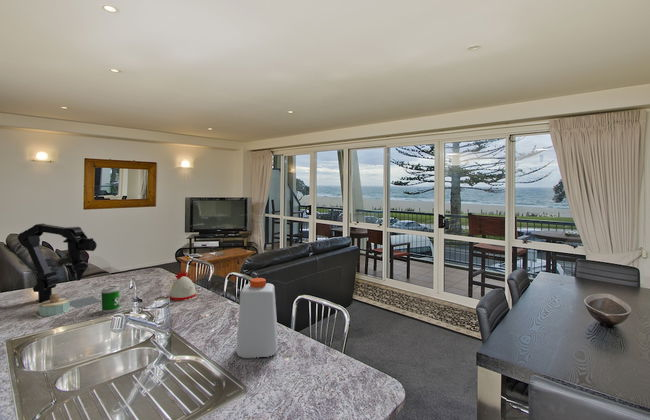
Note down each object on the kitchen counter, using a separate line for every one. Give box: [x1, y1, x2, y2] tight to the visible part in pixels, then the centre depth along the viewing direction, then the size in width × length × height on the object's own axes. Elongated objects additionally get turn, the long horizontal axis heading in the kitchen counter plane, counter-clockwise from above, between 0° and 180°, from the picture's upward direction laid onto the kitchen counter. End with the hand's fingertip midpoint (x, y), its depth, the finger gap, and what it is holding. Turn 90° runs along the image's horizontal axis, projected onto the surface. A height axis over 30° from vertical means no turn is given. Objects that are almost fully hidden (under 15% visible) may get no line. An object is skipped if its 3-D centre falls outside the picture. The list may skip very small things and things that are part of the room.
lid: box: [40, 293, 69, 307], centre depth 162 cm, size 10×10×4 cm
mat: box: [69, 296, 102, 309], centre depth 177 cm, size 14×12×1 cm
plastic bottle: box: [236, 277, 279, 359], centre depth 128 cm, size 15×15×28 cm
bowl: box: [38, 299, 71, 317], centre depth 163 cm, size 11×11×4 cm
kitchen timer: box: [169, 270, 197, 301], centre depth 188 cm, size 14×14×15 cm
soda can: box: [100, 285, 121, 314], centre depth 165 cm, size 8×8×12 cm
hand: (75, 279), depth 177 cm, fingers open, 9 cm apart
